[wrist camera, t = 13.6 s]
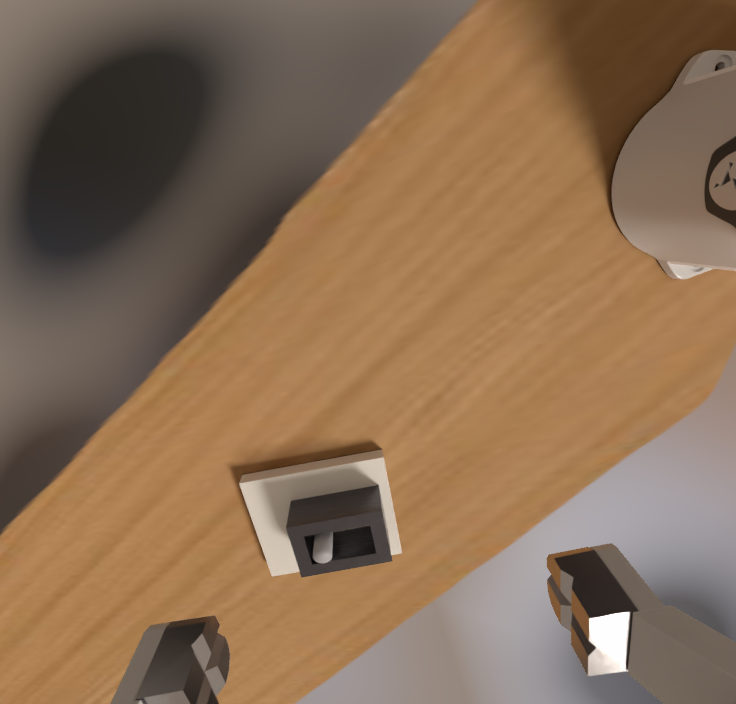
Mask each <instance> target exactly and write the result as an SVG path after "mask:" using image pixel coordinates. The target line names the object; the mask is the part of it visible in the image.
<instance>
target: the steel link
mask: <svg viewBox="0 0 736 704" xmlns="http://www.w3.org/2000/svg"><path fill="white" fill-rule="evenodd" d="M365 525H370V526H366V527H361V528H355V529H350V530H344V531H339V532H333V548H332V559H331V560H330V561H329V562H327V563H318V562H316V561H315V560H314V559H313V547H314V536H315V535H314V534H320V533H326V532H331V531H337V530H342V529H348V528H353V527H359V526H365ZM286 530H287V533H288V536H289V539H290V542H291V546H292V549H293V552H294V555H295V558H296V561H297V564H298V568H299V571H300V574H301V577H306V576H312V575H317V574H323V573H329V572H334V571H340V570H345V569H351V568H357V567H362V566H368V565H373V564H379V563H385V562H390V561H392V556H391V548H390V541H389V533H388V528H387V523H386V518H385V513H384V508H383V503H382V498H381V494H380V489H379V485H376V486H370V487H364V488H359V489H353V490H348V491H342V492H337V493H331V494H326V495H320V496H315V497H309V498H303V499H298V500H292V501H291V502H290V508H289V514H288V519H287V525H286Z"/></svg>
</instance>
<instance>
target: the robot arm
mask: <svg viewBox="0 0 736 704" xmlns="http://www.w3.org/2000/svg"><path fill="white" fill-rule="evenodd" d="M715 66H717V71H715ZM612 206H613V211H614V215H615V219H616V221H617V224H618V226H619V228H620V230H621V231H622V233H623V234H624V236H625V237H626V238H627V239H628V241H629V242H631V243H632V244H633V245H634V246H635V247H637V248H638V249H640V250H642V251H644V252H646V253H647V254H649V255H651V256H653V257H654V258H656V259H657V260H658V262H659V263H660V265H661V267H662V268H663V270H664V271H665V272H666V274H667V275H668V276H670V277H671V278H674V279H687V278H690V277H693V276H696V275H698V274H701V273H704V272H706V271H709V270H712V269H724V270H734V271H736V51H727V50H708V51H705V52H701V53H698V54H696V55H694V56H693V57H692V58H691V59H690V60H689V61H688V62H687V64H686V65H685V67H684V68H683V70H682V71H681V73H680V75H679V76H678V78H677V80H676V82H675V83H674V85H673V87H672V89H671V90H670V91H669V92H668V94H667V95H666V96H665V97H664V98H663V99H662V100H660V101H659V102H658V103H657V104H656V105H655V106H654V107H653V108H652V109H651V110H649V111H648V112H647V113H646V114H645V115H644V117H643V118H642V119H641V120H640V121H639V122H638V124H637V125H636V126H635V128H634V129H633V131H632V132H631V133H630V135H629V137H628V138H627V140H626V142H625V144H624V146H623V148H622V150H621V152H620V155H619V157H618V160H617V163H616V167H615V170H614V175H613V181H612ZM547 567H548V569H549V571H550V573H551V574H552V575H551V576H550V577H549V578H548V580H547V584H548V592H549V597H550V601H551V604H552V606H553V609H554V611H555V614H556V616H557V617H558V620H559V622H560V623H561V625H562V626H564V627H565V628H567V629H568V630H569V631H571V645H572V647H573V649H574V651H575V653H576V654H577V656H578V658H579V660H580V662H581V664H582V666H583V668H584V669H585V672H586V673H587V675H588V676H593V675H600V674H608V673H615V672H622V671H628V674H629V675H630V676H632V677H633V678H634V679H635V680H636V681H637V682H639V683H640V684H641V685H642V686H643V687H645V688H646V689H647V690H648V691H649V692H650V693H651V694H653V695H654V696H655V697H656V698H657V699H659V700H660V701H661V702H662V703H663V704H736V643H735V642H733V641H732V640H730V639H728V638H727V637H725V636H723V635H721V634H720V633H718V632H716V631H714V630H713V629H711V628H709V627H707V626H706V625H704V624H702V623H700V622H699V621H697V620H695V619H694V618H692V617H690V616H688V615H687V614H685V613H683V612H681V611H680V610H678V609H676V608H675V607H673V606H666V607H665V606H664V605H663V604H662V603H661V601H660V600H659V599H658V598H657V596H656V595H655V594H654V593H653V592H652V590H651V589H650V588H649V587H648V585H647V584H646V583H645V582H644V580H643V579H642V578H641V577H640V575H639V574H638V573H637V572H636V570H635V569H634V568H633V567H632V566H631V564H630V563H629V562H628V561H627V559H626V558H625V557H624V556H623V554H622V553H621V552H620V551H619V549H618V548H617V547H616V546H614V545H613V544H605V545H600V546H594V547H590V548H588V547H586V548H581V549H576V550H571V551H566V552H560V553H555V554H551V555H548V557H547ZM219 625H220V624H219V622H218V620H217V619H216V617H215V616H208V617H201V618H194V619H187V620H181V621H174V622H168V623H162V624H156V625H151V626H150V627H149V628H148V629H147V630H146V631H145V632H144V634H143V636H142V638H141V640H140V642H139V644H138V646H137V649H136V651H135V653H134V655H133V657H132V659H131V661H130V663H129V666H128V668H127V670H126V672H125V674H124V676H123V678H122V680H121V682H120V685H119V687H118V689H117V691H116V693H115V695H114V697H113V699H112V701H111V704H219V702H218V700H217V697H216V696H217V695H218V693H219V692H220V691H221V689H222V688H223V687H224V685H225V684H226V680H227V676H228V672H229V661H230V652H229V646H228V643H227V640H226V638H225V637H224V636H222V635H220V634H219V633H217V632H218V629H219Z"/></svg>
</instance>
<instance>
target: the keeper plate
mask: <svg viewBox="0 0 736 704" xmlns="http://www.w3.org/2000/svg"><path fill="white" fill-rule="evenodd" d="M239 485H240V488H241V491H242V493H243V496H244V499H245V502H246V505H247V508H248V510H249V513H250V516H251V519H252V522H253V524H254V527H255V530H256V533H257V536H258V539H259V541H260V544H261V547H262V550H263V553H264V555H265V558H266V561H267V564H268V567H269V570H270V572H271V575H272V577H273V576H278V575H284V574H289V573H295V572H300V571H299V568H298V564H297V561H296V558H295V555H294V552H293V549H292V546H291V542H290V539H289V536H288V533H287V530H286V525H287V519H288V514H289V508H290V502H291V501H292V500H298V499H303V498H309V497H315V496H320V495H326V494H331V493H337V492H342V491H348V490H353V489H359V488H364V487H370V486H376V485H379V489H380V494H381V498H382V503H383V508H384V513H385V518H386V523H387V528H388V533H389V541H390V548H391V555H395V554H401V553H402V551H401V544H400V539H399V534H398V529H397V523H396V518H395V513H394V508H393V503H392V497H391V492H390V487H389V482H388V476H387V471H386V466H385V461H384V456H383V450H382V449H381V450H376V451H370V452H365V453H359V454H354V455H348V456H343V457H337V458H332V459H326V460H321V461H316V462H310V463H305V464H299V465H294V466H288V467H283V468H277V469H272V470H266V471H261V472H255V473H250V474H244V475H242V477H241V480H240V482H239ZM366 526H370V525H365V526H359V527H353V528H348V529H342V530H337V531H331V532H326V533H320V534H314V535H315V536H314V547H313V559H314V560H315V561H316V562H318V563H327V562H329V561H330V560H331V559H332V548H333V532H339V531H344V530H350V529H355V528H361V527H366Z"/></svg>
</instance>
